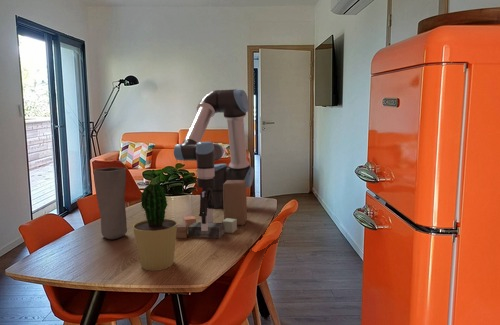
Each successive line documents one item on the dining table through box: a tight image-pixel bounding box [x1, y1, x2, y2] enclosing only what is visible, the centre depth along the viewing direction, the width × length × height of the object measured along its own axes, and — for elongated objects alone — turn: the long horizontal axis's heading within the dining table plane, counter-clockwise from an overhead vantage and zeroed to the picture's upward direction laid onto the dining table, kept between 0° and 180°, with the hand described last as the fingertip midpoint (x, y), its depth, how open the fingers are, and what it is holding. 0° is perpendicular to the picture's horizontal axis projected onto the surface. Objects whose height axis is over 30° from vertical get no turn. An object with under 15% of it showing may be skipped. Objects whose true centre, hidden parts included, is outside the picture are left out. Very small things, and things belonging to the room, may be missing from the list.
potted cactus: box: [132, 183, 178, 271], centre depth 147 cm, size 15×15×30 cm
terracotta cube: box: [182, 215, 197, 231], centre depth 192 cm, size 5×5×5 cm
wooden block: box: [223, 180, 248, 226], centre depth 199 cm, size 10×10×20 cm
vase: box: [93, 167, 128, 240], centre depth 178 cm, size 12×12×30 cm
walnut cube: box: [176, 223, 188, 239], centre depth 180 cm, size 5×5×5 cm
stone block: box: [187, 221, 226, 239], centre depth 182 cm, size 9×14×5 cm, turn 75°
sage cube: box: [221, 218, 238, 233], centre depth 187 cm, size 5×5×5 cm
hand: (207, 226), depth 183 cm, fingers open, 11 cm apart
